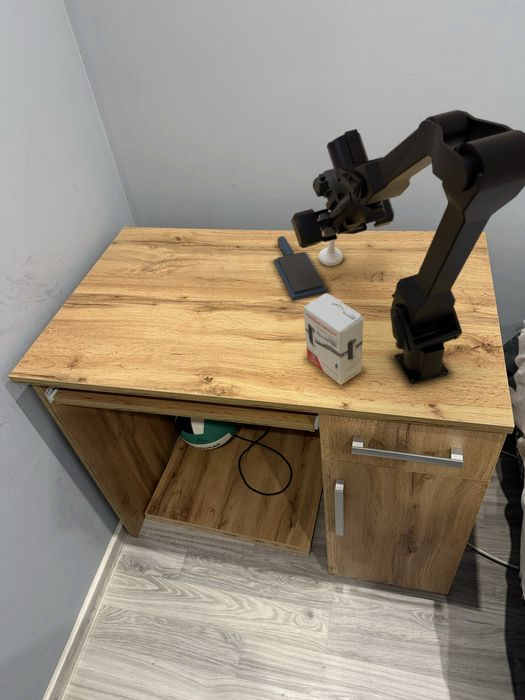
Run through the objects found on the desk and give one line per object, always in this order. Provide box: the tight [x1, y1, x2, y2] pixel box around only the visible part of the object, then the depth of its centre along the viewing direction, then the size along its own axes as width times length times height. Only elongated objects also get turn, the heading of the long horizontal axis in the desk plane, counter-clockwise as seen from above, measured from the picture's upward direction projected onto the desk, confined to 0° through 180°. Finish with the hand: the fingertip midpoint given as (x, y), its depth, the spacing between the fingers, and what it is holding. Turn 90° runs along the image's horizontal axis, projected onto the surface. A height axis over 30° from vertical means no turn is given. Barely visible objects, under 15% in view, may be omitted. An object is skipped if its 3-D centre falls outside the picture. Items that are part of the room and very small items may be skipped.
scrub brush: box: [273, 235, 328, 301], centre depth 104 cm, size 21×7×2 cm, turn 14°
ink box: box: [302, 292, 364, 386], centre depth 79 cm, size 8×5×12 cm, turn 37°
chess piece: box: [318, 233, 343, 267], centre depth 101 cm, size 5×5×10 cm
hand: (330, 232), depth 100 cm, fingers closed on chess piece, 2 cm apart
